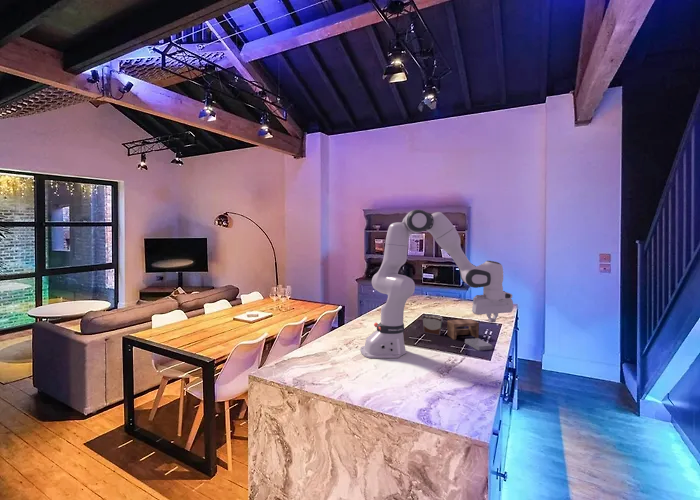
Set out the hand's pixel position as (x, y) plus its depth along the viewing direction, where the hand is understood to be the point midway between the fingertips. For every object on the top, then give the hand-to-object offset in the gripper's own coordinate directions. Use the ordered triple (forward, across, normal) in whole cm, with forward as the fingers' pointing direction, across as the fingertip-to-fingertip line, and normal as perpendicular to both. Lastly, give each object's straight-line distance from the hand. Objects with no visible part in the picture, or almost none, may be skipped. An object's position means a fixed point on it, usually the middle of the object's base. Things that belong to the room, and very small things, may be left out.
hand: (492, 322), depth 177 cm
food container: (+16, -13, +37) cm, 42 cm away
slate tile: (+16, 0, +11) cm, 19 cm away
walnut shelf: (+16, 0, +27) cm, 31 cm away
